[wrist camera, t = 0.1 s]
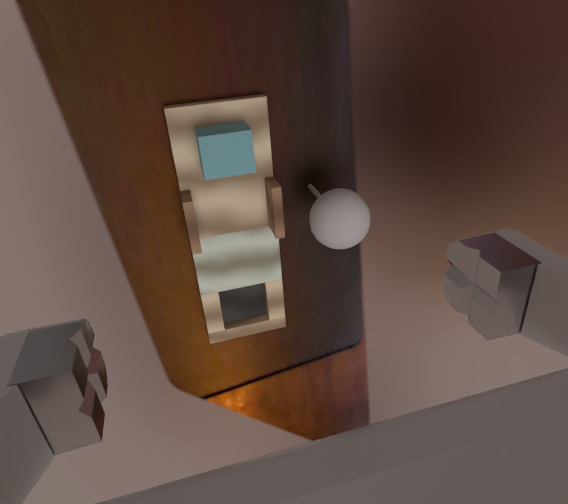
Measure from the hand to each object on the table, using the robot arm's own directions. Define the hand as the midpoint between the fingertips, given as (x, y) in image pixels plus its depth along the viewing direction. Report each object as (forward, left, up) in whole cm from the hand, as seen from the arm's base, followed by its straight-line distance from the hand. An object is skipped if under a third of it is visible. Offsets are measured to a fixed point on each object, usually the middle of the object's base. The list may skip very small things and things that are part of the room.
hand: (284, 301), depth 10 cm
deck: (+22, +4, -48) cm, 53 cm away
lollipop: (+17, +15, -48) cm, 53 cm away
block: (+9, +4, -46) cm, 47 cm away
